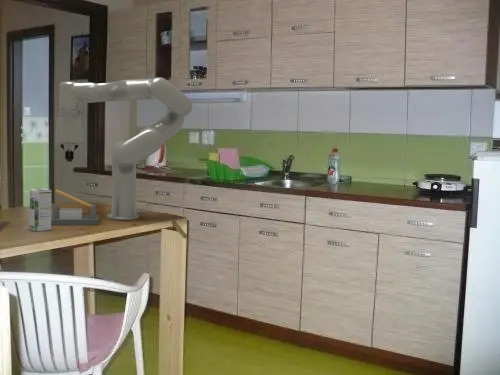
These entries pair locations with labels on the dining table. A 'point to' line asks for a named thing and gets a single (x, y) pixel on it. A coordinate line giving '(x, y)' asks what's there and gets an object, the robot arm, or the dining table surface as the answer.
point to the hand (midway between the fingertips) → (69, 161)
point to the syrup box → (40, 209)
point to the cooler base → (74, 216)
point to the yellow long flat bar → (73, 198)
